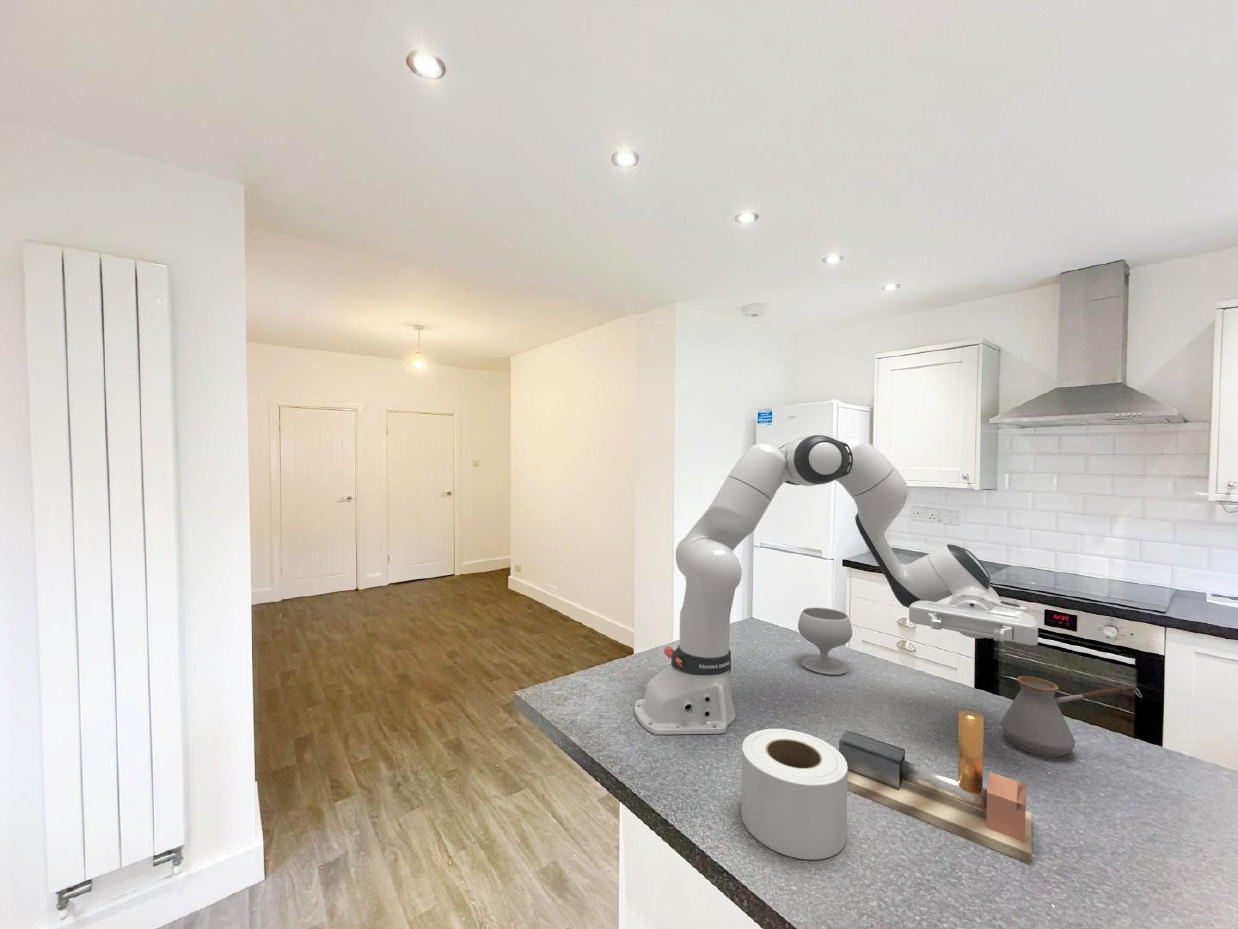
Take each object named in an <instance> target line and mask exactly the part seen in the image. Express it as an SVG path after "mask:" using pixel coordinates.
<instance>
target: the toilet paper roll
mask: <svg viewBox="0 0 1238 929" xmlns="http://www.w3.org/2000/svg"><path fill="white" fill-rule="evenodd" d="M847 777H848V766H847V762H846V760H845V758H844V757H843V755H842V754H841V753H840V752H839V749H837V748H836V747H835V746H833V745H831V744H830V743H828V742H827V741H825V740H823V739H821V738H819V737H816V736H814V735H811V734H808V733H806V732H802V731H798V730H793V729H787V728H766V729H762V730H761V729H760V730H757V731H754V732H752V733H750V734H748V735H747V736H746V737H745V738H744V739H743V742H742V746H741V793H740V794H741V796H740V797H741V799H740V800H741V801H740V802H741V804H740V805H741V806H740V807H741V808H740V809H741V810H740V812H741V813H740V814H741V819H742V822H743V824H744V826H745V828H746V829H747V830H748V832H749V833H750V834H751V836H753V837H754V838H755V839H756V840H757V841H759V842H760V843H761V844H762V845H764V846H766V847H767V848H769V849H771V850H773V851H775V852H777V853H779V854H781V855H784V856H787V857H791V858H794V859H800V860H812V861H813V860H824V859H827V858H832V857H833V856H835V855H837V854H838V853H841V851H842V850H843V849H844V847H845V845H846V842H847V839H848V838H847V834H848V833H847V832H848V830H847V828H848V827H847V826H848V825H847V824H848V822H847V821H848V818H847V817H848V790H847Z"/></svg>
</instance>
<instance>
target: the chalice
mask: <svg viewBox="0 0 1238 929" xmlns="http://www.w3.org/2000/svg"><path fill="white" fill-rule="evenodd" d="M797 629H798V632H799V634H800V635H801V637H803V639H805V640H806V641H808V643H811V644H813V645H814V646H815V647H816V648H818V650H819V651H820V655H819V656H808V657H804V658H803V659H801V660H800V664H801V663H802V664H801V665H803V666H802V667H803V668H805V669H806V670H809V671H812V672H814V673H819V674H822V675H829V676H833V675H834V676H839V675H840V676H841V675H843V674H846V673H847V672H848V671H849V668H848V667H847V666H846V664H844V663H842V662H840V661H838V660H836V659H832V658H829V656H828V654H829V652H830V651H831V650H833V649H834V648H838V647H840V646H843V645H845V644H847V643H848V642H849V641H850V640H852V637H853V628H852V623H851V620H850V618H849V616H848V615H847V614H846V613H845V612H843V611H840V610H837V609H833V608H825V607H808V608H807V607H806V608H804V609H803V610H802V611H801V613H800V615H799V618H798V622H797Z"/></svg>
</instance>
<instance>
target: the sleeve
mask: <svg viewBox="0 0 1238 929" xmlns="http://www.w3.org/2000/svg"><path fill="white" fill-rule="evenodd" d="M838 751H839V752H840V753H841V754H842V755H843V757H844V758H845V760H846V762H847V766H848V771H850V772H852V773H855V774H858V775H860V776H863V777H865V778H868V779H871V780H873V781H876V782H878V783H881V784H884V785H886V786H889V787H891V788H894V789H897V790H899V789H900V787H901V784H902V782H903V780H902V779H900V762H901V760H905V761H906V749H905V748H903V747H900V746H899V747H898V746H896V745H893V744H889V743H887V742H885V741H882V740H878V739H876V738H872V737H870V736H867V735H863V734H860V733H857V732H854V731H851V730H849V729H846V731H845V732H844V733H843V734H842V735H841V737H840V739H839V740H838Z"/></svg>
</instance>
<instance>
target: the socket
mask: <svg viewBox="0 0 1238 929" xmlns="http://www.w3.org/2000/svg"><path fill="white" fill-rule="evenodd" d="M987 782H988V783H987V788H986V789H987V815H986V827H987V828H989V829H992V830H994V831H997V832H999V833H1002V834H1005V835H1007V836H1010V837H1012V838H1015V839H1017V840H1020V841H1023V842H1025V820H1026V811H1027V810H1026V809H1027V808H1026V806H1027V804H1026V803H1027V783H1025V782H1021V781H1019V780H1015V779H1013V778H1009V777H1006V776H1003V775H1000V774H997V773H994V772H992V771H989V775H988V781H987Z"/></svg>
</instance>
